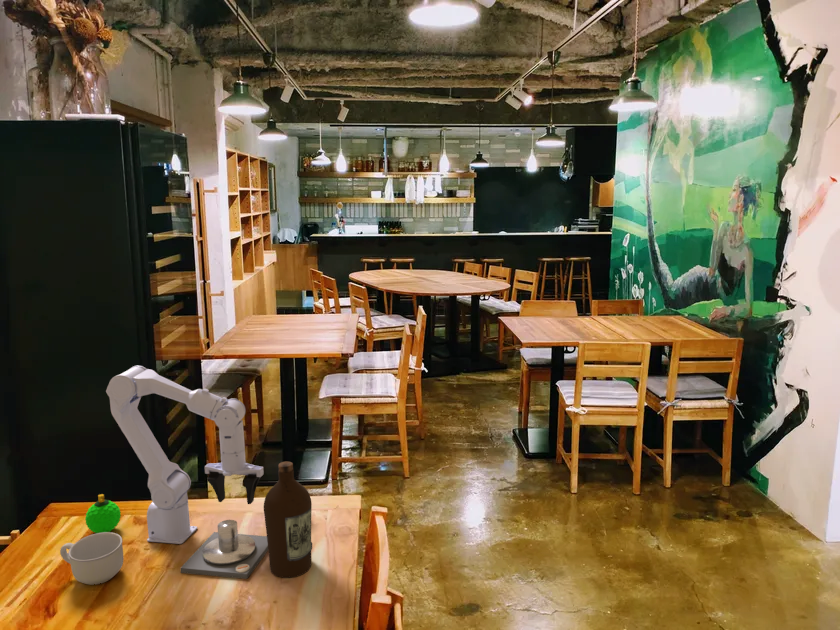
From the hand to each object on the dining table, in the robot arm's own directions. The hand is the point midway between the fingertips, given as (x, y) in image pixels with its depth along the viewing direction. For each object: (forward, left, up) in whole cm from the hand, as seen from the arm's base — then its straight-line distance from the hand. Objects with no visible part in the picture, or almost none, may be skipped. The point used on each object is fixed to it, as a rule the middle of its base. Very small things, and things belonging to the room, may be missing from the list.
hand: (236, 501), depth 159 cm
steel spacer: (+2, -9, -7) cm, 12 cm away
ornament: (-35, -3, -10) cm, 36 cm away
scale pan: (+2, -9, -8) cm, 12 cm away
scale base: (+2, -9, -9) cm, 13 cm away
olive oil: (+18, -11, -10) cm, 23 cm away
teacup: (-25, -21, -10) cm, 34 cm away
